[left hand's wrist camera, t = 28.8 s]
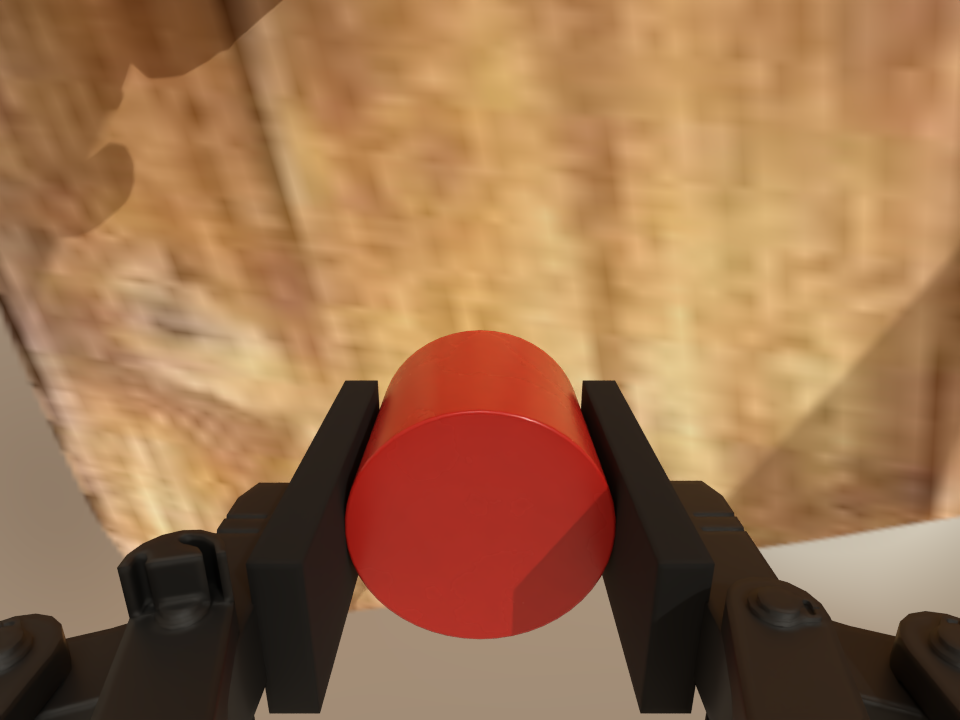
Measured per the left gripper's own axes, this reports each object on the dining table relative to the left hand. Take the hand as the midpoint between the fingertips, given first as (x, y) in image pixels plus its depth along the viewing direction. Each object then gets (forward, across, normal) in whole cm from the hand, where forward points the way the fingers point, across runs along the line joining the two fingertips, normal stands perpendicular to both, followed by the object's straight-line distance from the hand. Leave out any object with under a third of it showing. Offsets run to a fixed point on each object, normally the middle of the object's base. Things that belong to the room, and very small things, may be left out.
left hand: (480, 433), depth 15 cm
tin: (0, 0, 0) cm, 0 cm away
